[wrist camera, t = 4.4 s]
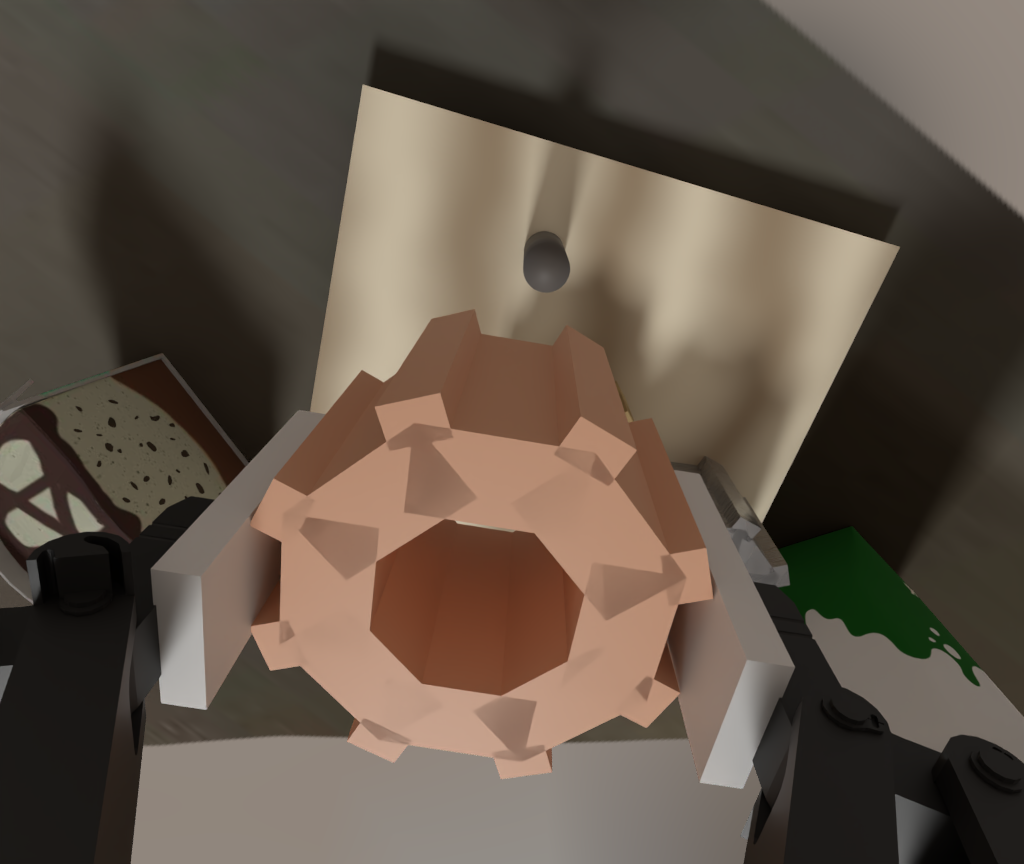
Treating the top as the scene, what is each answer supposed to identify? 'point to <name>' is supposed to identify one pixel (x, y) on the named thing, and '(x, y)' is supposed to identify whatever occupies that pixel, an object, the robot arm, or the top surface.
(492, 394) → the planet gear
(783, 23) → the top surface
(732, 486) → the seated gear
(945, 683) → the milk carton
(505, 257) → the carrier
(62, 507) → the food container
